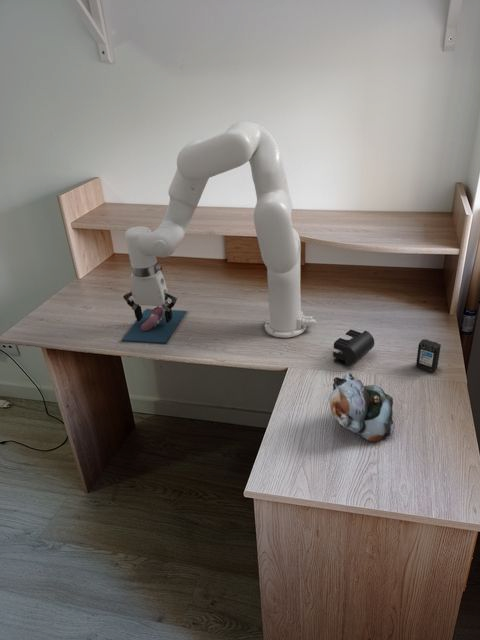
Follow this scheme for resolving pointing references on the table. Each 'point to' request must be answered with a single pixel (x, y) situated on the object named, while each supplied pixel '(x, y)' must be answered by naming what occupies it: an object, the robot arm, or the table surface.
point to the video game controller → (153, 318)
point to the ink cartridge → (428, 355)
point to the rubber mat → (154, 329)
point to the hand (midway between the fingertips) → (154, 320)
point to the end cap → (352, 347)
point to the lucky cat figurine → (362, 408)
